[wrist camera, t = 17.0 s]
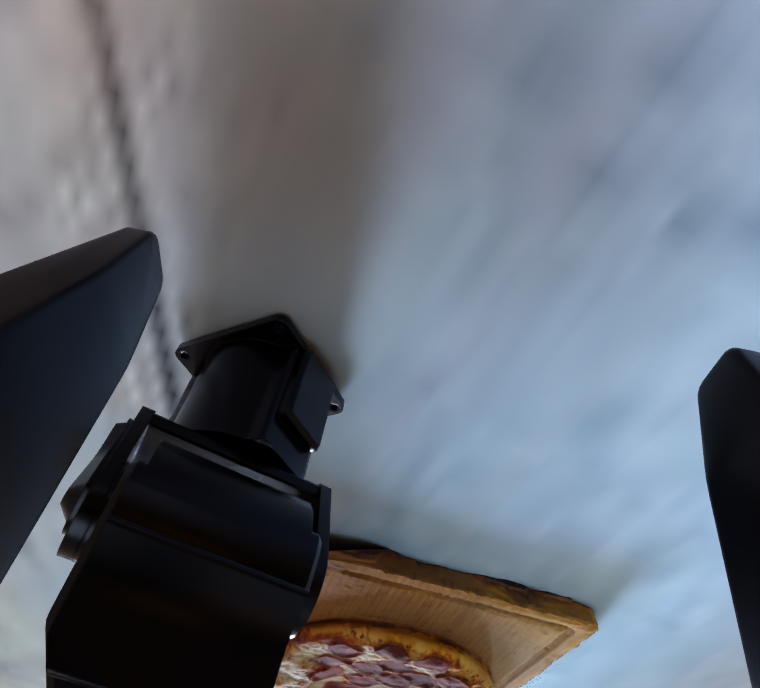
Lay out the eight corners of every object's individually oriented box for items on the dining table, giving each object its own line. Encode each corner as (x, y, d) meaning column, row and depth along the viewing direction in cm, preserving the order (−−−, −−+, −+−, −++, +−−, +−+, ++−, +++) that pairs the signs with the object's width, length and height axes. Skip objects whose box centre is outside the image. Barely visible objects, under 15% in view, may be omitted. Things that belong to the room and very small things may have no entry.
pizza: (459, 734, 63) (459, 775, 60) (207, 678, 61) (194, 717, 59) (622, 601, 40) (632, 657, 37) (222, 504, 38) (202, 555, 35)
